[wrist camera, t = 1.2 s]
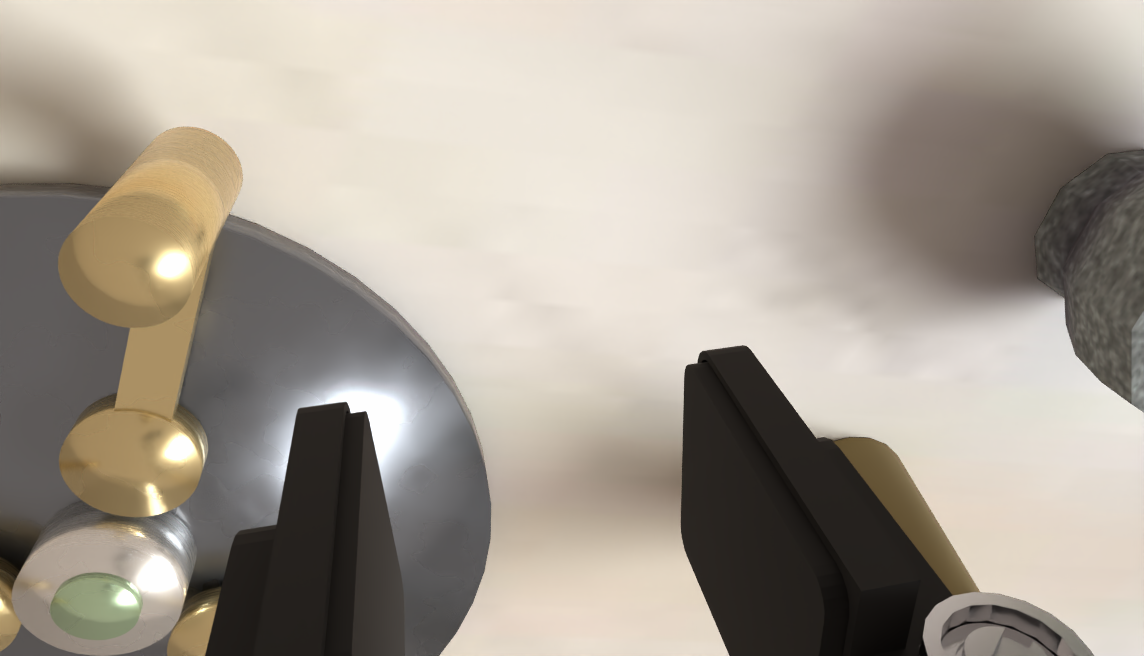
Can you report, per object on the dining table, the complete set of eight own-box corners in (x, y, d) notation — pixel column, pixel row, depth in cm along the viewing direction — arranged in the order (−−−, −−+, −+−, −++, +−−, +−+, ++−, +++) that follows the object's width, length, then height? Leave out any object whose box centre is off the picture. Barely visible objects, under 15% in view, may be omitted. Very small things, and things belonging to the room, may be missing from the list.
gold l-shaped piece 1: (195, 502, 28) (134, 694, 22) (63, 480, 27) (-43, 677, 20) (287, 141, 23) (245, 249, 16) (131, 91, 22) (18, 188, 15)
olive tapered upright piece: (743, 517, 35) (870, 752, 26) (839, 415, 34) (1013, 628, 24) (835, 563, 38) (981, 793, 29) (929, 471, 36) (1118, 683, 27)
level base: (381, 778, 39) (380, 863, 36) (-311, 732, 31) (-398, 838, 27) (589, 314, 29) (615, 371, 26) (-355, 48, 21) (-502, 83, 17)
